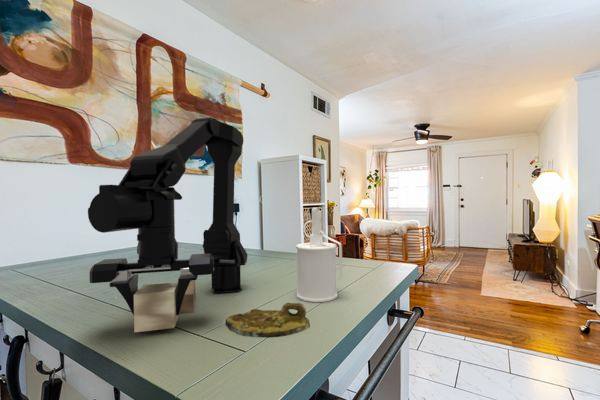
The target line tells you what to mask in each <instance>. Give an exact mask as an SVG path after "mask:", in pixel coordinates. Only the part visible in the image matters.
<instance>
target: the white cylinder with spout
mask: <svg viewBox="0 0 600 400" xmlns="http://www.w3.org/2000/svg"><path fill="white" fill-rule="evenodd" d="M310 222H311V234H307V232H306V225H307V224H308V223H310ZM303 233H304V235H305V236H306V237H307V238H309V242H302V243H297V244H296V245H295V249H296V256H297V257H296V259H297V260H296V263H297V266H296V267H297V291H296V297H297V298H298V300H301V301H304V302H309V303H326V302H330V301H333V300H336V299H337V298H338V292H337V261H336V260H337V259H336V257H337V256H336V255H337V254H336V253H337V251H336V250H337V248H338V258H339V259H338V260H339V261H338V264H339V267H338V268H339V269H338V271H339V280H342V279H343V252H342V251H343V249H342V248H343V247H342V243H341V242H339V241H338V240H336V239H334V238H332V237H330V236H328V235H326V233H325V231H323V230H322V211H321V210H319V207H312V209H311V220H308V221H306V222H304V225H303ZM323 238H324V239H327V240H329V241H331V242H332V243H331V242H325V241H324V242H323Z"/></svg>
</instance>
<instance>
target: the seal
mask: <svg viewBox="0 0 600 400" xmlns="http://www.w3.org/2000/svg"><path fill="white" fill-rule="evenodd" d="M290 310H295V311H297V312H296V313H293V312H290ZM306 310H307V309H306V307H305V305H304V304H303V303H299V302H293V303H291V302H286V303H284V304H283V305H282V307H281V310H278V309H277V310H271V309H269V310H265V309H264V310H262V309H259V308H258V309H257V308H253V309H251V310H250V311H248V312H247V311H246V312H243V313H237V314H233V315H229V316H227V317H226V319H225V324H226V325H227V326H228V327H229V330H230V331H231V332H233V333H235V334H237V335H240V336H244V337H250V338H251V337H252V338H276V337H285V336H292V335H295V334H298V333H301V332H303V331H306V330H308V329H309V328H310V324H311V323H310V319H309V318H308V317H306V316H307V311H306Z"/></svg>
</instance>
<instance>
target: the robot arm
mask: <svg viewBox="0 0 600 400" xmlns="http://www.w3.org/2000/svg"><path fill="white" fill-rule="evenodd" d="M243 144H244V136H243V133H242V131H240V130H239V129H238V128H237V127H234V125H231V124H227V123H224V122H222V121H219V120H218V119H216V118H215V117H211V116H210V117H209V116H207V117H198V118H194V119H193V120H191V123H190V124H189V125H188V126H186V127H185V128H184V129H183V130H182V131H180V132H179V133H178V134H176V135H175V136H174V137H172V138H171V139H170V140H169V141H167V142H166V143H165V144H164V145H162V146H159V147H155V148H152V149H149V150H146V151H144V152H142V153H140V154H138V155H136V156H134V157H133V158H132V159H131V161H130V162H129V165H130V167H129V168H128V170H127V171H126V173H125V174H124V176H123V177H122V179H121V180H120V182H119V183H118V184H100V185H99V187H98V188H99V189H98V194H96V195H94V197H93V198H92V199H91V201H90V203H89V204H90V205H89V207H88V208H87V217H88V221H89V223H90V225H91V226H92V227H93V229H94V230H96V231H97V232H99V233H111V232H112V233H113V232H121V231H130V230H137V235H136V238H137V239H136V240H137V246H136V247H137V248H136V254H137V255H138V258H137V262H128V259H127V257H124V258H123V257H122V258H108V259H107V258H105V259H102V260H101V261H99V262H97V263H95V264H93V265H92V266H91V268H90V269H89V273H88V274H89V284H99V283H109V284H108V285H109V287H110V288H116V289H117V291H118V293H120V295H121V296H122V297H123V299H124V300H125V302H126V304H127V306H128V307H129V310H130V311H131V313H132V315H133V316H134V294H135V293H136V292H137V291H138V290H139V287H138V286H139V285H138V283H139V274H148V273H149V274H151V273H162V272H164V273H166V272H177V271H178V272H179V273H180V275H179V277H178V279H177V282H178V288H177V299H176V315H179V316H180V314H179V313H180V310H181V306H182V303H183V299H184V296H185V293H186V290H187V288H188V286H189V283H190V281H197V280H198V277H199V276H206V275H207V276H208V275H210V276H211V289H212V290H213V294H221V293H222V294H223V293H232V292H242V289H243V288H242V286H241V279H242V278H241V277H242V276H241V266H245V265H246V264H247V261H248V253H247V252H246V249H245V248H244V246H243V244H242V242H241V233H240V232H239V230H238V228H237V226H236V225H235V223H234V217H235V216H234V214H235V210H234V209H235V208H234V206H235V170H236V169H235V168H236V167H235V166H236V164H237V162H238V160H239V158H240V157H241V156H242V153H243ZM204 146H206V147H207V148H206V149H207V154H208V155H209V157H210V158H211V161H212V162H213V187H212V188H213V191H212V192H213V193H212V197H213V198H212V223H211V224H210V226H209V227H208V229H205V230H203V233H202V235H203V237H202V238H203V242H202V248H203V253H194V254H193V253H192V254H191V255H190V256H189V258H187V259H179V254H178V253H179V242H178V241H177V240H176V234H175V233H176V231H175V229H176V228H175V226H176V225H175V224H176V223H175V222H176V221H175V201H177V200H179V201H180V200H182V199H183V196H182V194H180V192H178V191H177V190H176V189H175V187H174V186H176V185H177V184H178V183H179V181H180V180H181V179H182V177H183V176H184V174H185V172H186V171H187V170H186V169H187V168H186V163H187V162H188V161H189V160H190V159H191V158H192V157H193V156H194V155H195V154H196V153H197V152H198V151H199V150H200V149H201V148H202V147H204Z"/></svg>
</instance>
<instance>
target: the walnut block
mask: <svg viewBox="0 0 600 400" xmlns="http://www.w3.org/2000/svg"><path fill="white" fill-rule="evenodd" d="M195 303H196V280H194V281H190V283H189V286H188V288H187V290H186V293H185V296H184V299H183V303H182V306H181V310H180V313H179V315H180V314H181V315H182V314H187V313H188V314H189V313H194V310H195Z"/></svg>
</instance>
